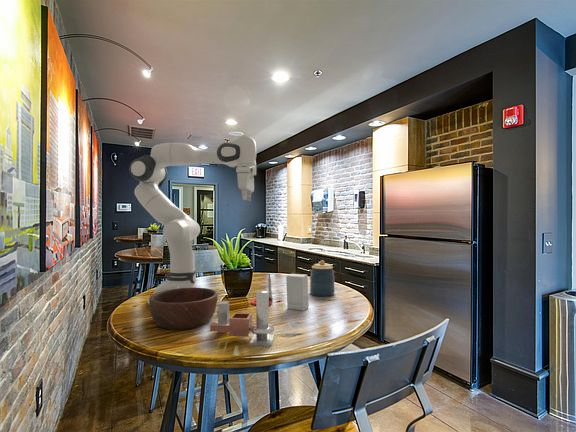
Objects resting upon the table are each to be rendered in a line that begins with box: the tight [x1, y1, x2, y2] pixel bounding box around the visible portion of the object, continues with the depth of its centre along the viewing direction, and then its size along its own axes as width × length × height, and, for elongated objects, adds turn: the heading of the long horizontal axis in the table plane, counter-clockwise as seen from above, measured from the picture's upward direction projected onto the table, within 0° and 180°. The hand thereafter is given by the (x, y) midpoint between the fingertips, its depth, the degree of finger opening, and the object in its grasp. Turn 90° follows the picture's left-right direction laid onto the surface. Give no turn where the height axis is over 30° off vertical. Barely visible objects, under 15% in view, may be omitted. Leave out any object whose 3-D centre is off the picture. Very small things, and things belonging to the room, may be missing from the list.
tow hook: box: [250, 273, 274, 306], centre depth 145 cm, size 9×14×10 cm
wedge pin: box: [217, 300, 230, 334], centre depth 110 cm, size 3×3×10 cm
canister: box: [309, 259, 336, 297], centre depth 163 cm, size 13×13×18 cm
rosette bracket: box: [209, 289, 275, 347], centre depth 101 cm, size 21×8×16 cm, turn 86°
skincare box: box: [285, 273, 310, 312], centre depth 137 cm, size 8×6×15 cm
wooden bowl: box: [148, 287, 218, 330], centre depth 120 cm, size 25×25×10 cm
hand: (246, 200), depth 146 cm, fingers open, 8 cm apart
